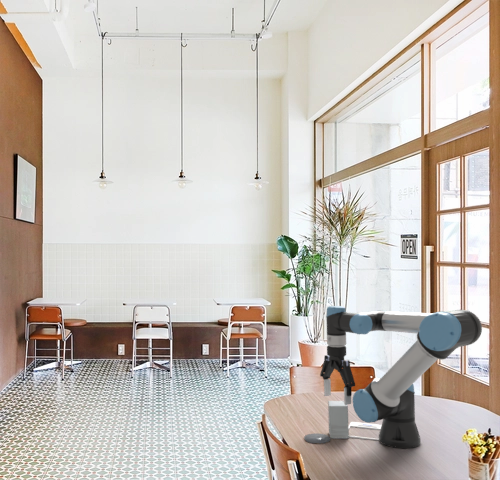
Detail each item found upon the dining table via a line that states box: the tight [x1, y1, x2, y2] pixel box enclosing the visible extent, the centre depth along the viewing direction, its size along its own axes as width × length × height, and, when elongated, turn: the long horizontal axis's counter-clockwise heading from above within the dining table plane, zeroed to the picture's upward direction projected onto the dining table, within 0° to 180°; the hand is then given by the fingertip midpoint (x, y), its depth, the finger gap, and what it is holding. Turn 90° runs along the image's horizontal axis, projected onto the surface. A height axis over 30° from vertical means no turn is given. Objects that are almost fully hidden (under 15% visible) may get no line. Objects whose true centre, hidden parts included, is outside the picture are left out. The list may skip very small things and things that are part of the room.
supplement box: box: [327, 400, 350, 440], centre depth 200 cm, size 7×7×13 cm
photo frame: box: [348, 421, 382, 442], centre depth 204 cm, size 15×1×18 cm
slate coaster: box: [303, 432, 331, 445], centre depth 196 cm, size 10×10×1 cm
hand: (337, 399), depth 201 cm, fingers open, 13 cm apart
